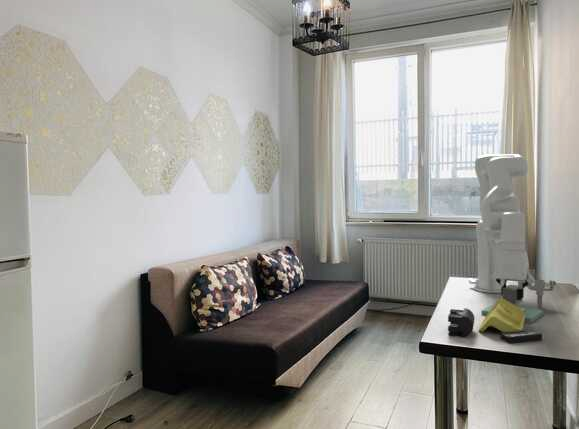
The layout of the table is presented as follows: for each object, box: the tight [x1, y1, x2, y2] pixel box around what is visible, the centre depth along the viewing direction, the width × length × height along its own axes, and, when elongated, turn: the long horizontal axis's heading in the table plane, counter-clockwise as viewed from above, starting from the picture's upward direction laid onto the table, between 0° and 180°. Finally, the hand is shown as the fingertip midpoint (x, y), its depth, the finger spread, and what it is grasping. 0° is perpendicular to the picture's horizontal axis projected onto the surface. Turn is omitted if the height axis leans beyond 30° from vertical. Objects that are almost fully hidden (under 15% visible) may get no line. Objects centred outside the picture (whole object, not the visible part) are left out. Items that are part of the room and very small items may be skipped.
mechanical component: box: [524, 278, 557, 308], centre depth 166 cm, size 3×10×10 cm, turn 78°
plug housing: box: [502, 284, 524, 306], centre depth 155 cm, size 4×8×6 cm, turn 137°
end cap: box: [447, 307, 475, 338], centre depth 135 cm, size 10×7×7 cm
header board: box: [480, 303, 544, 324], centre depth 155 cm, size 16×14×5 cm
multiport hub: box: [500, 329, 543, 345], centre depth 128 cm, size 4×11×2 cm, turn 103°
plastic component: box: [478, 298, 525, 333], centre depth 140 cm, size 20×7×10 cm
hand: (512, 298), depth 154 cm, fingers closed on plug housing, 4 cm apart
